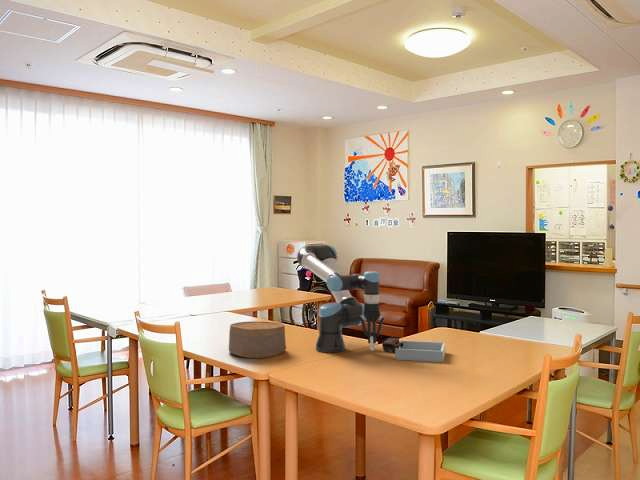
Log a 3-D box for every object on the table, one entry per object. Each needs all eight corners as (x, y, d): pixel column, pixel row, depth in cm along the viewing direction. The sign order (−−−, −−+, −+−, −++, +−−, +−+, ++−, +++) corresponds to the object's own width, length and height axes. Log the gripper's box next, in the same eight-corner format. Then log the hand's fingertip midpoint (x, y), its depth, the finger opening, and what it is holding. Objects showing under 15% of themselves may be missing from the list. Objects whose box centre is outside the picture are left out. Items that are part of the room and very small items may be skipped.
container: (294, 350, 279) (293, 321, 279) (266, 362, 254) (266, 330, 254) (248, 345, 291) (247, 317, 290) (217, 356, 266) (217, 326, 265)
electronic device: (397, 346, 268) (405, 338, 273) (381, 343, 275) (388, 335, 280) (399, 353, 270) (406, 345, 275) (382, 350, 276) (390, 342, 281)
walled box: (395, 359, 257) (395, 348, 257) (400, 350, 277) (400, 340, 277) (442, 362, 251) (442, 351, 251) (445, 352, 271) (445, 342, 271)
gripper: (357, 303, 268) (357, 350, 269) (383, 304, 265) (383, 352, 265) (360, 301, 275) (360, 347, 276) (386, 302, 272) (386, 348, 272)
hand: (372, 349), depth 271 cm, fingers closed
